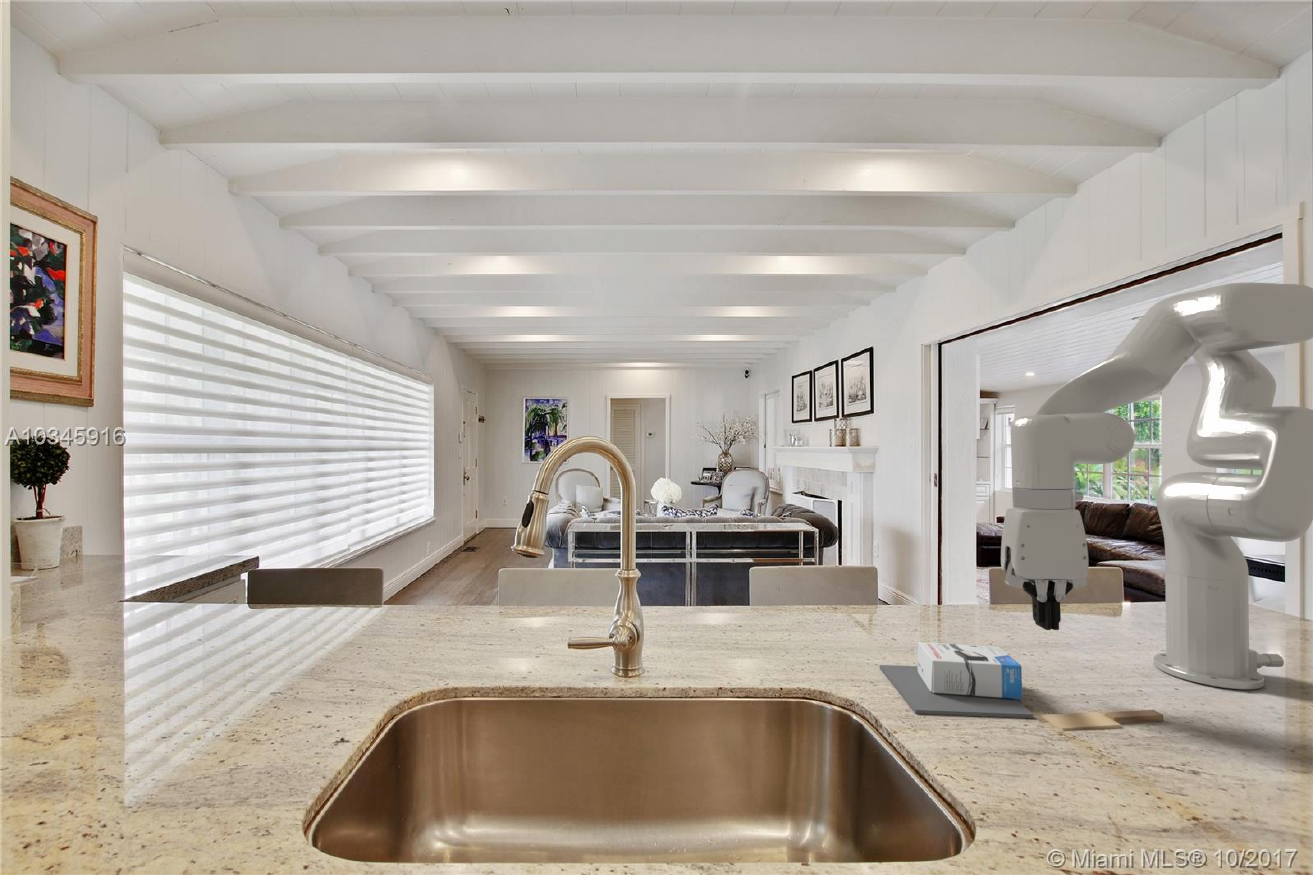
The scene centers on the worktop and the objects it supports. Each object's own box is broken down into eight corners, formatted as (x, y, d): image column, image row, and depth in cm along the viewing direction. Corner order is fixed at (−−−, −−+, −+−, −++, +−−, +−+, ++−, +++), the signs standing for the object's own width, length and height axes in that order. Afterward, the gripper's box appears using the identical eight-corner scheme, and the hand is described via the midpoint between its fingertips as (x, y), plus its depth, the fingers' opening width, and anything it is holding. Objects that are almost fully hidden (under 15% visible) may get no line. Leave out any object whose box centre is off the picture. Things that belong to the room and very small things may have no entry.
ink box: (1023, 665, 81) (931, 659, 83) (1023, 701, 81) (932, 694, 83) (998, 644, 89) (916, 640, 91) (998, 677, 89) (916, 671, 91)
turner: (1145, 712, 78) (1145, 706, 78) (1171, 724, 75) (1171, 718, 75) (1041, 718, 77) (1041, 712, 77) (1062, 731, 73) (1062, 725, 74)
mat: (976, 671, 93) (976, 668, 93) (1033, 718, 77) (1033, 714, 77) (879, 668, 94) (879, 665, 94) (915, 713, 78) (915, 709, 78)
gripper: (1080, 496, 88) (1084, 619, 88) (977, 498, 89) (980, 619, 89) (1115, 502, 80) (1120, 636, 80) (1002, 504, 81) (1006, 635, 81)
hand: (1046, 626), depth 84 cm, fingers closed
